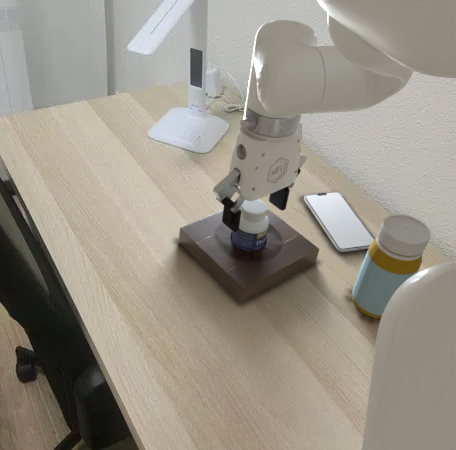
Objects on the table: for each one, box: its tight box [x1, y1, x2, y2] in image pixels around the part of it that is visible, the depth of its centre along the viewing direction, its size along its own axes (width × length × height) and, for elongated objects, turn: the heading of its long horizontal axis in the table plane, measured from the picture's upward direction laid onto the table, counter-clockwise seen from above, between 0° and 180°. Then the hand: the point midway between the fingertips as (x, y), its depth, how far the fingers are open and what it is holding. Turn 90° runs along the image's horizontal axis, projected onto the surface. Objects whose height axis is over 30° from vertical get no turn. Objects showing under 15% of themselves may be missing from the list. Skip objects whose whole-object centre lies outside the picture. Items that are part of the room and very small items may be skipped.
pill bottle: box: [231, 198, 269, 251], centre depth 88 cm, size 5×5×10 cm
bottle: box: [351, 213, 431, 319], centre depth 78 cm, size 7×7×15 cm
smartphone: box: [303, 191, 376, 253], centre depth 97 cm, size 7×1×15 cm
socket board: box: [178, 205, 320, 303], centre depth 90 cm, size 16×16×3 cm
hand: (254, 215), depth 85 cm, fingers open, 9 cm apart
